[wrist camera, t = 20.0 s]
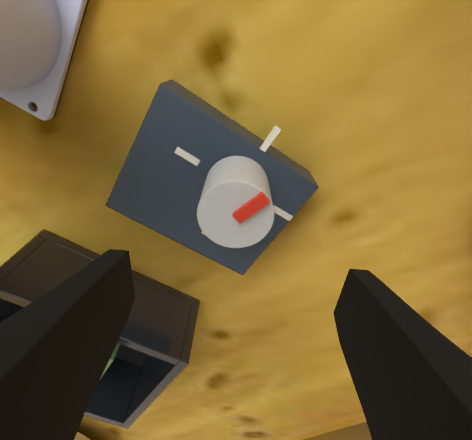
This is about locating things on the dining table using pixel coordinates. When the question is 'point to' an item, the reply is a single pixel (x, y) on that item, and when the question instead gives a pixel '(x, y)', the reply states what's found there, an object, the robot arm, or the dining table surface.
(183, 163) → the rotary dial base
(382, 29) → the dining table surface
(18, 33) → the robot arm
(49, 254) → the black storage bin
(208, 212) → the dial knob
